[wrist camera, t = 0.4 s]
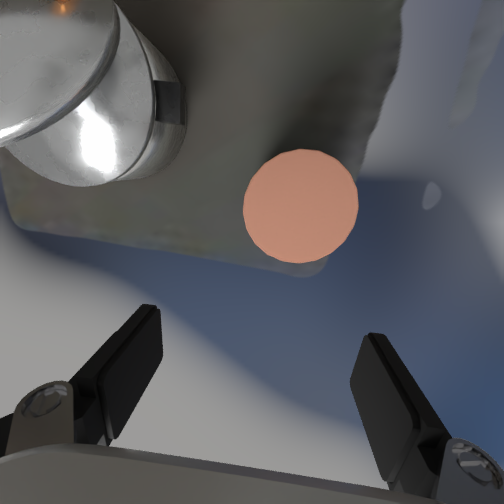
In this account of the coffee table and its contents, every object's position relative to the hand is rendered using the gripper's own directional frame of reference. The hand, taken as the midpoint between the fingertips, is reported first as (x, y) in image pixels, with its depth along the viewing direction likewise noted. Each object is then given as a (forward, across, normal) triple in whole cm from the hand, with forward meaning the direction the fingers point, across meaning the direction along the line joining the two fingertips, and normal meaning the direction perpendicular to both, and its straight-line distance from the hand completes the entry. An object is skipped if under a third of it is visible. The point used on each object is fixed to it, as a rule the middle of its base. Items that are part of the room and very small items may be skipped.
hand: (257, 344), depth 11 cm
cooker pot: (+32, +24, -13) cm, 42 cm away
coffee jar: (+32, -3, -4) cm, 32 cm away
